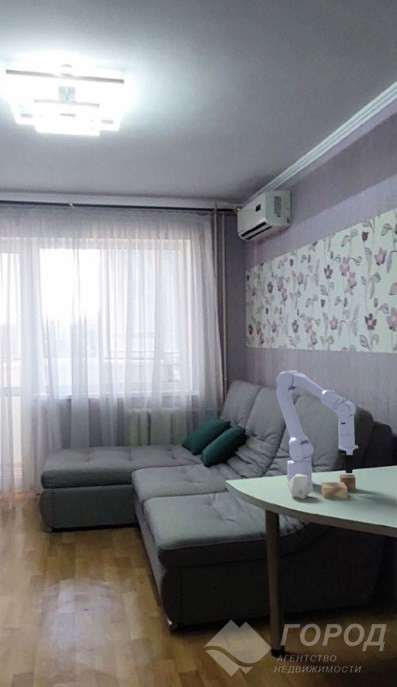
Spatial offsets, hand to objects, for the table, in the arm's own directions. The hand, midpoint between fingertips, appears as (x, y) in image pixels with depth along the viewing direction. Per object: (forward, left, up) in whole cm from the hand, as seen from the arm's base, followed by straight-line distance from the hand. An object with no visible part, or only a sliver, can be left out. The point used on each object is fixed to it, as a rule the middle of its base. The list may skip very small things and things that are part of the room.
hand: (347, 470), depth 210 cm
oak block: (-6, -9, -7) cm, 13 cm away
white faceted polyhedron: (-18, -11, -7) cm, 22 cm away
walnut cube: (0, 0, -7) cm, 7 cm away
